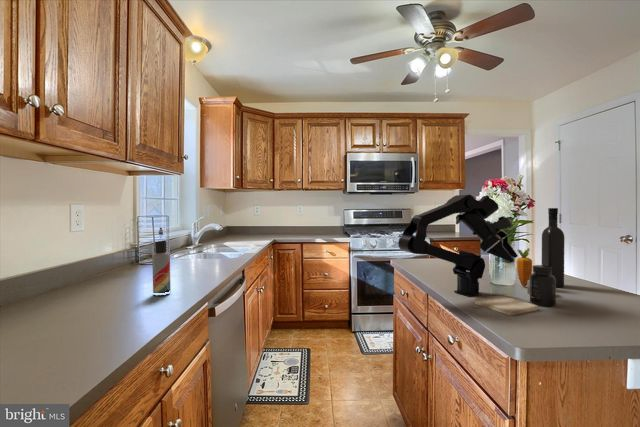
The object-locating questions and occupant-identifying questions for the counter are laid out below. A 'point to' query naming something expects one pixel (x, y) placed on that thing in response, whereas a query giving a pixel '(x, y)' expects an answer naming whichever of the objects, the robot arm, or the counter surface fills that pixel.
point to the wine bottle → (554, 247)
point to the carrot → (524, 267)
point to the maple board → (506, 305)
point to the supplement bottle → (542, 286)
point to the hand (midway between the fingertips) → (514, 259)
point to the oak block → (528, 287)
